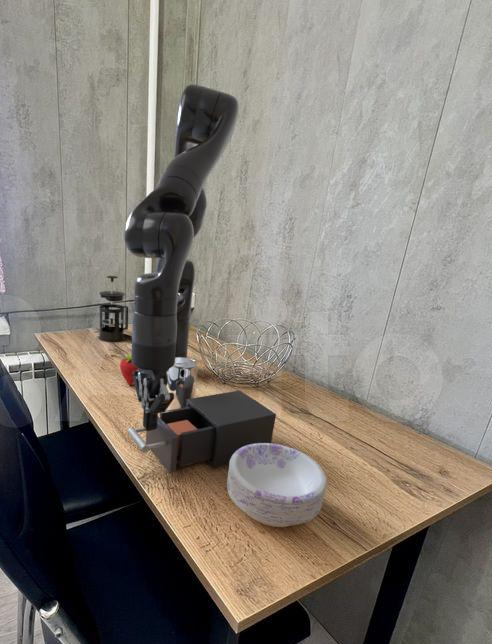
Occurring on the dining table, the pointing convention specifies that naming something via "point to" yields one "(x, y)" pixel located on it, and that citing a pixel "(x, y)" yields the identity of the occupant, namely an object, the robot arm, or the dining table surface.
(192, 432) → the drawer
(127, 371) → the strawberry
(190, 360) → the beer glass
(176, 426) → the block
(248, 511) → the paper bowls
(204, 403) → the cabinet
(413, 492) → the dining table surface
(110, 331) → the french press
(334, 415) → the dining table surface
